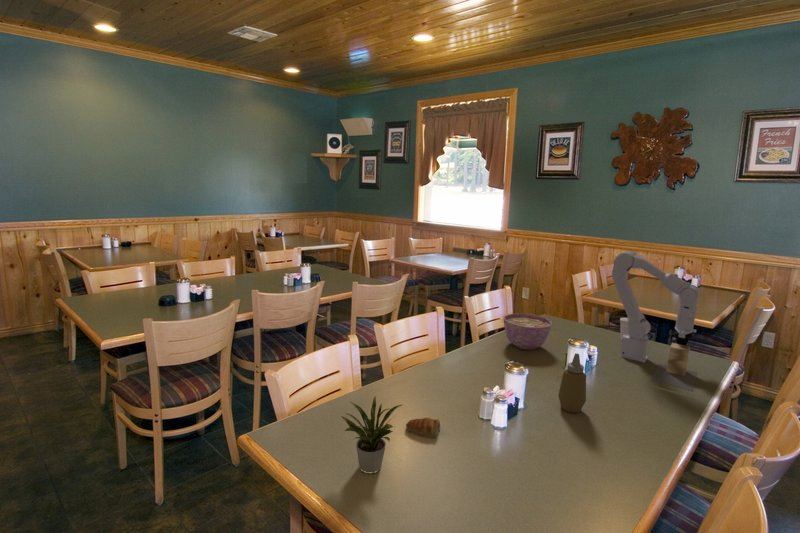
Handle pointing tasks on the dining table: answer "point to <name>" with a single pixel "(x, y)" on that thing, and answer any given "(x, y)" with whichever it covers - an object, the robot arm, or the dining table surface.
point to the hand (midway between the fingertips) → (680, 350)
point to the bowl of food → (526, 330)
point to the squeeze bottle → (573, 387)
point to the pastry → (424, 427)
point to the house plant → (370, 437)
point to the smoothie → (624, 327)
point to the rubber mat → (674, 378)
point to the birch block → (678, 359)
